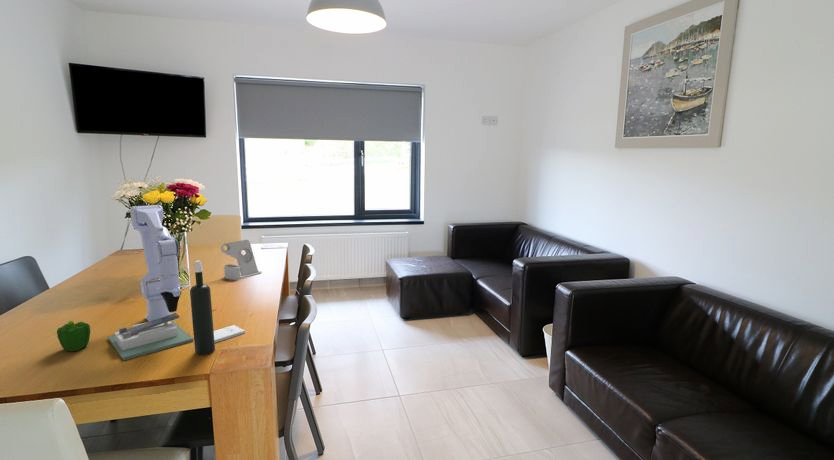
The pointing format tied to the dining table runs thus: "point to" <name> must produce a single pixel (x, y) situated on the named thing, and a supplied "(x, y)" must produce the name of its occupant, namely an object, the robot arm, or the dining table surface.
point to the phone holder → (240, 260)
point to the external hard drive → (227, 333)
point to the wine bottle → (202, 314)
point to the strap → (152, 323)
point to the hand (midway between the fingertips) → (172, 311)
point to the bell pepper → (74, 335)
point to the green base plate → (148, 340)
